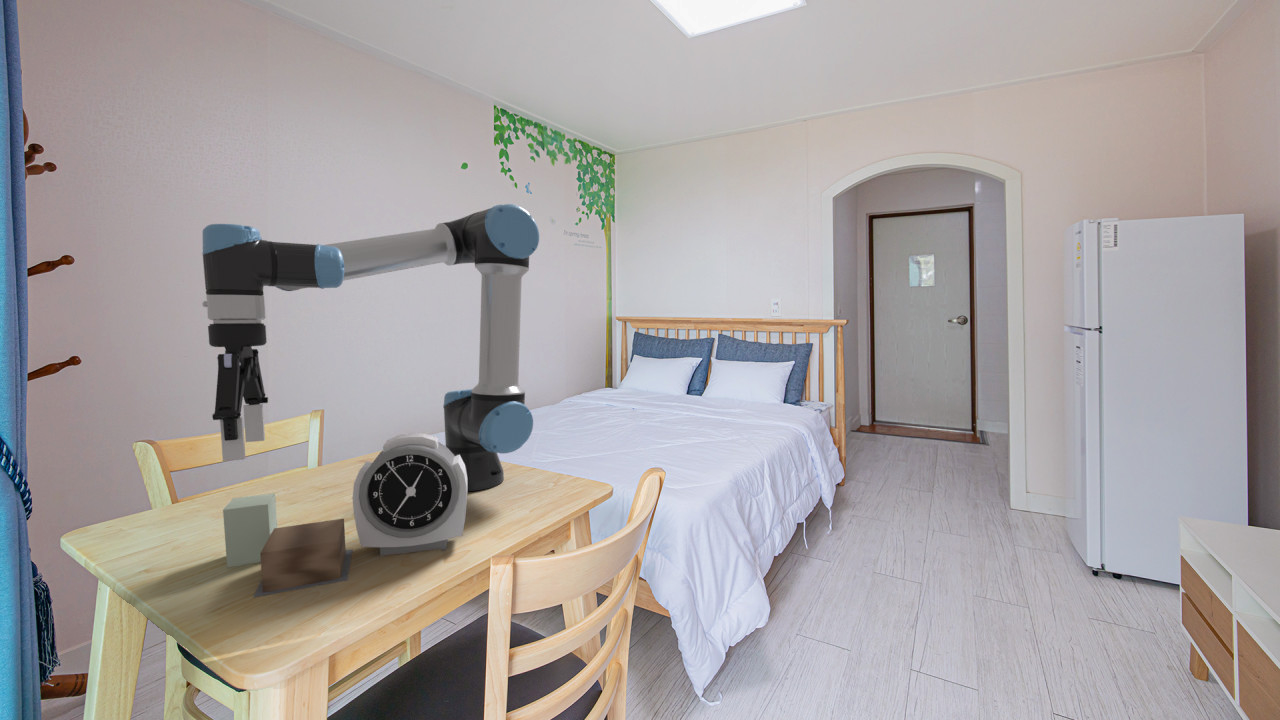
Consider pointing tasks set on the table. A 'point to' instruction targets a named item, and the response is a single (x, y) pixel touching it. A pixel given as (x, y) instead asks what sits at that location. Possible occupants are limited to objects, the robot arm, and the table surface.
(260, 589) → the slate mat
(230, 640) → the table surface
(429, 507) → the alarm clock
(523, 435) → the robot arm
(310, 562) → the walnut block
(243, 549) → the sage block
